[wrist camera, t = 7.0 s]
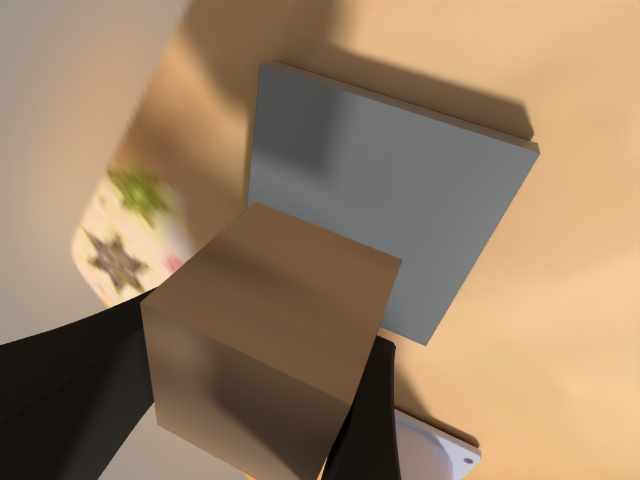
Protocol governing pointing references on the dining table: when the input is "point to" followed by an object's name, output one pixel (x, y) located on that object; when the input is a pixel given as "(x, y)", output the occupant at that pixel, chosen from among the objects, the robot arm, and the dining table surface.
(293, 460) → the walnut brick
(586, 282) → the dining table surface
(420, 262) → the base plate
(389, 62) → the dining table surface
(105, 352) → the robot arm
